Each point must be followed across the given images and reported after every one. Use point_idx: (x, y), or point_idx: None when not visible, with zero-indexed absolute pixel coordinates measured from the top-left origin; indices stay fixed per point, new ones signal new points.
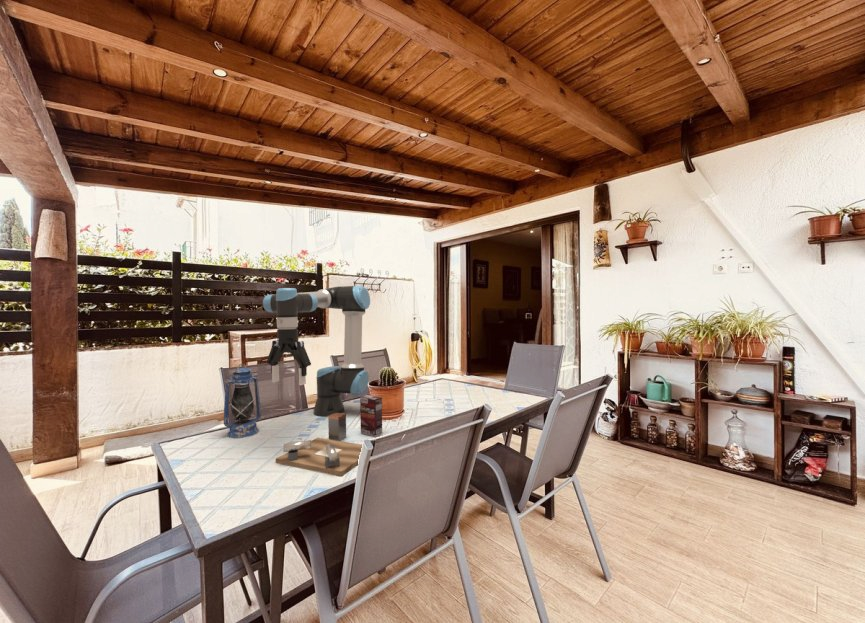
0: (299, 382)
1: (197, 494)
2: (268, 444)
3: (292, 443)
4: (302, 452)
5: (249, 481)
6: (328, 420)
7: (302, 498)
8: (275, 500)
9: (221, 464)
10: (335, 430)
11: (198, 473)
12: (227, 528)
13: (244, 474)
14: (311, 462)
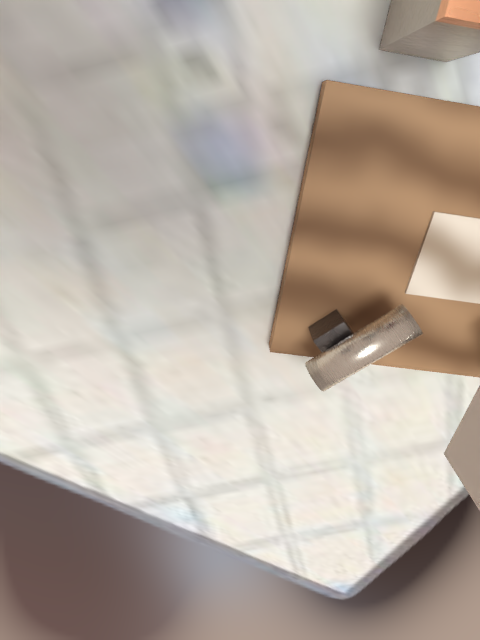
0: (473, 486)
1: (195, 515)
2: (97, 189)
3: (351, 371)
4: (345, 282)
5: (273, 451)
6: (430, 23)
7: (462, 483)
8: (400, 500)
9: (92, 390)
10: (457, 48)
11: (85, 447)
12: (360, 573)
13: (227, 425)
14: (422, 351)
